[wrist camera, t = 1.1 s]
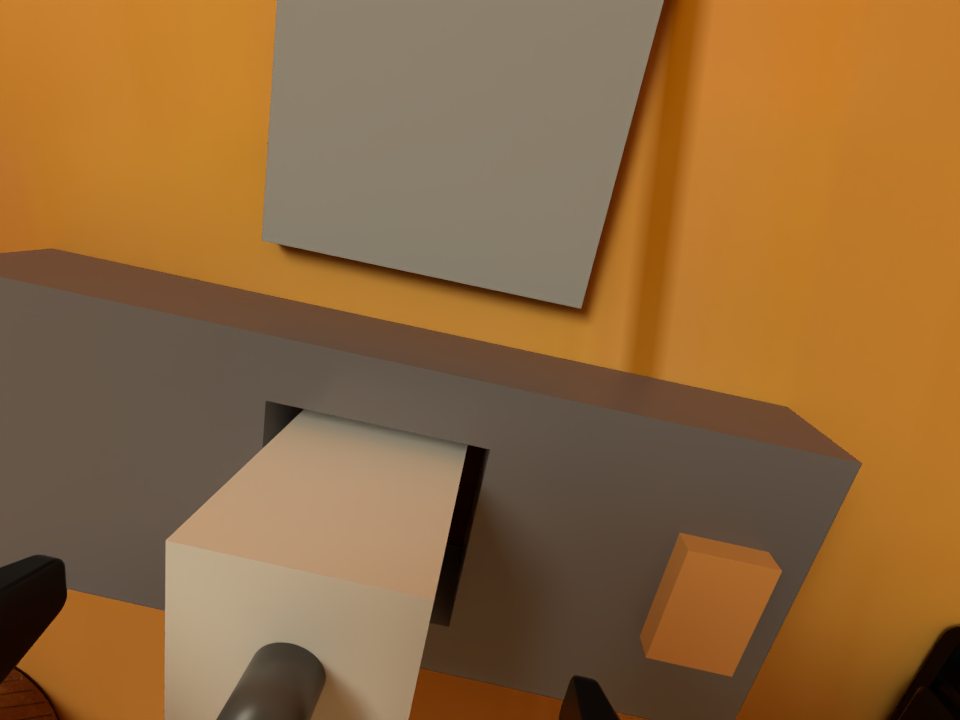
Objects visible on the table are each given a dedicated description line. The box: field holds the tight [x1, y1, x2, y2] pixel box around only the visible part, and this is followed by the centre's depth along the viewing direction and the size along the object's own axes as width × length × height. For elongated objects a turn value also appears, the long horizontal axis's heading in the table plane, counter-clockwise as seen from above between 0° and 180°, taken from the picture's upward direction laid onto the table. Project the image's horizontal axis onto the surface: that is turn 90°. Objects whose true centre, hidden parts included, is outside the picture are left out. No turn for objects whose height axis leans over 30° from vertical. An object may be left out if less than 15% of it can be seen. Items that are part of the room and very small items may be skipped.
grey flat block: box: [0, 249, 862, 720], centre depth 13 cm, size 20×8×4 cm, turn 78°
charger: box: [164, 409, 468, 720], centre depth 11 cm, size 4×4×8 cm
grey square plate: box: [262, 0, 664, 309], centre depth 11 cm, size 8×8×1 cm
